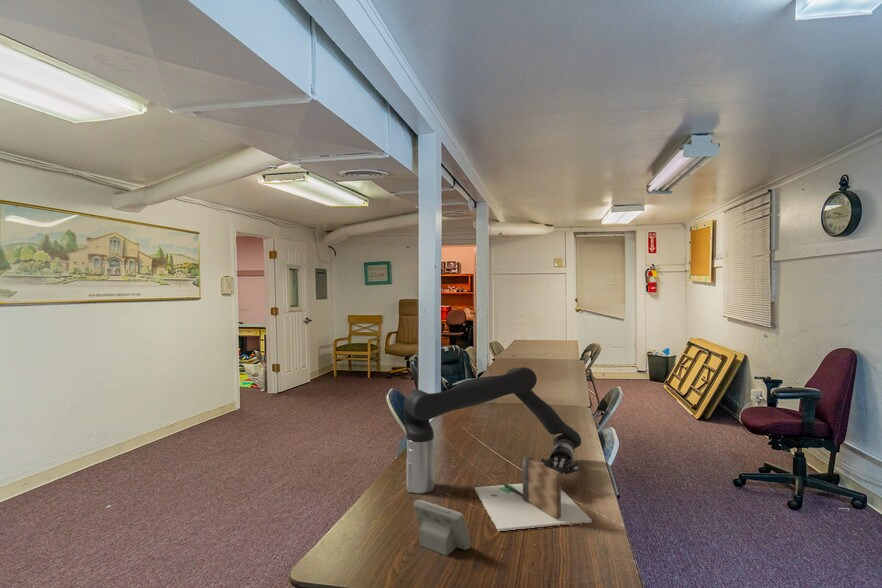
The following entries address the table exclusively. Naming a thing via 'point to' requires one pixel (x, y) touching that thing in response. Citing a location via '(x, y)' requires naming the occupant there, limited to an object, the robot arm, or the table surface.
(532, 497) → the wooden board with post
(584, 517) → the thin white panel
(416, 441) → the robot arm
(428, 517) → the digital clock
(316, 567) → the table surface
